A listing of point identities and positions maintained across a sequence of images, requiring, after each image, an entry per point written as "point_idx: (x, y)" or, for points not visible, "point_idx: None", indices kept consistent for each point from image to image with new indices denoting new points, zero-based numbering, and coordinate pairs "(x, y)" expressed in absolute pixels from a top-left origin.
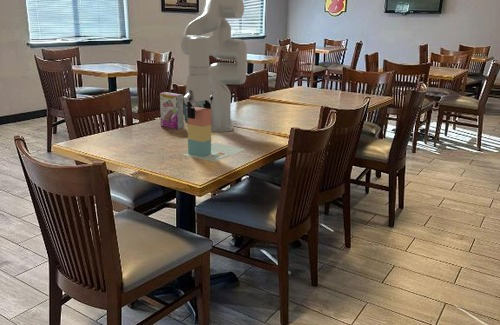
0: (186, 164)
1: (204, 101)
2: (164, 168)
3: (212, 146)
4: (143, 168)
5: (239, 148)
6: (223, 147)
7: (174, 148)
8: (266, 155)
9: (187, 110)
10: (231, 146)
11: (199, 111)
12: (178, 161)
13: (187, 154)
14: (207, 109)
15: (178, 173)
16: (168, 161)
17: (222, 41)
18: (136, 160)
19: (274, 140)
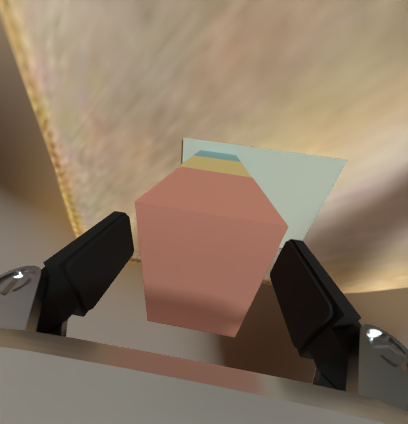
0: (139, 187)
1: (351, 364)
2: (87, 160)
3: (297, 174)
4: (46, 112)
5: (297, 238)
6: (295, 204)
7: (241, 54)
8: (269, 283)
9: (74, 240)
10: (311, 217)
11: (147, 297)
12: (142, 159)
13: (193, 152)
14: (213, 325)
15: (91, 202)
16: (125, 136)
17: None
18: (59, 25)
19: (402, 274)
